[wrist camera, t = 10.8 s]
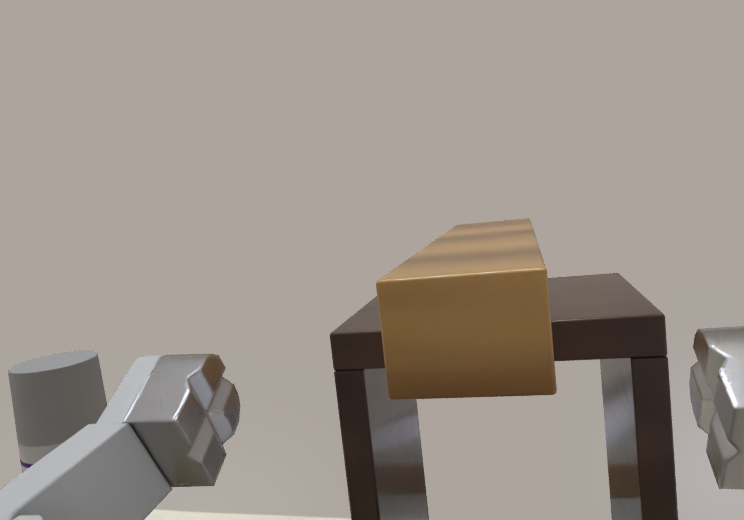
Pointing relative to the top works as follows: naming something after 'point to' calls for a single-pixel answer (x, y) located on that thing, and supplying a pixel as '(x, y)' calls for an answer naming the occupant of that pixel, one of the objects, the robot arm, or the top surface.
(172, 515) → the top surface
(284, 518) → the top surface
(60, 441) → the container
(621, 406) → the shelf
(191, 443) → the robot arm
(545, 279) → the block
